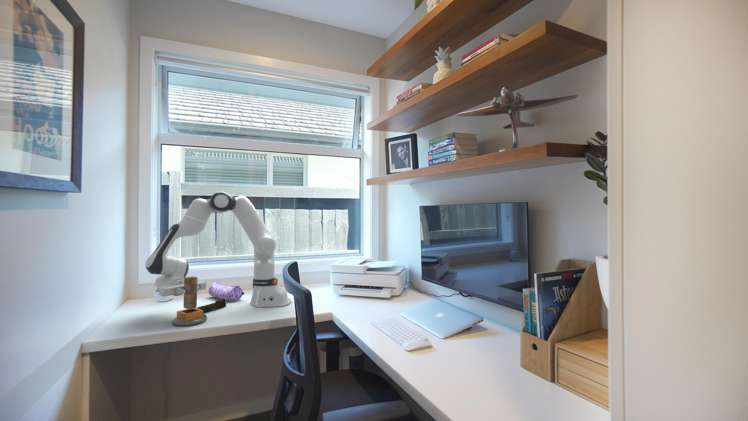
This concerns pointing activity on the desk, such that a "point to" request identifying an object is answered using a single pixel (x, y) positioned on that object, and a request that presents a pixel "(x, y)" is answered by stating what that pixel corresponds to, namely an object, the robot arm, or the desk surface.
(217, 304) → the hand tool
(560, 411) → the desk surface
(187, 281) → the brown wooden block
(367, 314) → the desk surface
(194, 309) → the collar base
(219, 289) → the pencil case
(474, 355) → the desk surface
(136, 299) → the desk surface
